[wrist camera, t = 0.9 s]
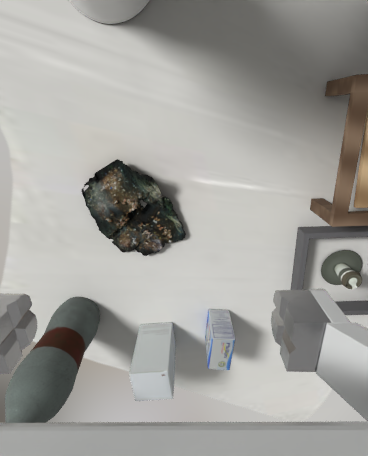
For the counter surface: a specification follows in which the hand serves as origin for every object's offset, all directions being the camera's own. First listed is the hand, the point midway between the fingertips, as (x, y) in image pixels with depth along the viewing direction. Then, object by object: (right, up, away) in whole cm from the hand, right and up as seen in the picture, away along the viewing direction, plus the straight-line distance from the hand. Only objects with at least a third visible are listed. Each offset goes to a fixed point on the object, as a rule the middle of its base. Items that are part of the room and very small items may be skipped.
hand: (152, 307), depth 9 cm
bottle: (-21, -15, +51) cm, 57 cm away
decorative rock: (-8, +6, +43) cm, 44 cm away
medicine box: (+8, -18, +52) cm, 55 cm away
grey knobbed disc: (+32, -5, +46) cm, 56 cm away
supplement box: (-5, -21, +53) cm, 57 cm away
